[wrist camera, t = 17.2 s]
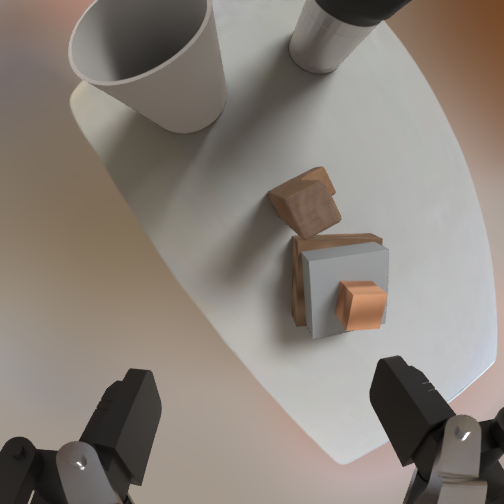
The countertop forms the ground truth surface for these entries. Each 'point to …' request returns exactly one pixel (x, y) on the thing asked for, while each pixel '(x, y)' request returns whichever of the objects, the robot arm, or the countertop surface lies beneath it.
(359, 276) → the tower top block
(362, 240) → the tower base block
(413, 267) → the countertop surface
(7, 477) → the robot arm
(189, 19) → the cylinder vase
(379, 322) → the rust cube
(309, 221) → the wooden block
